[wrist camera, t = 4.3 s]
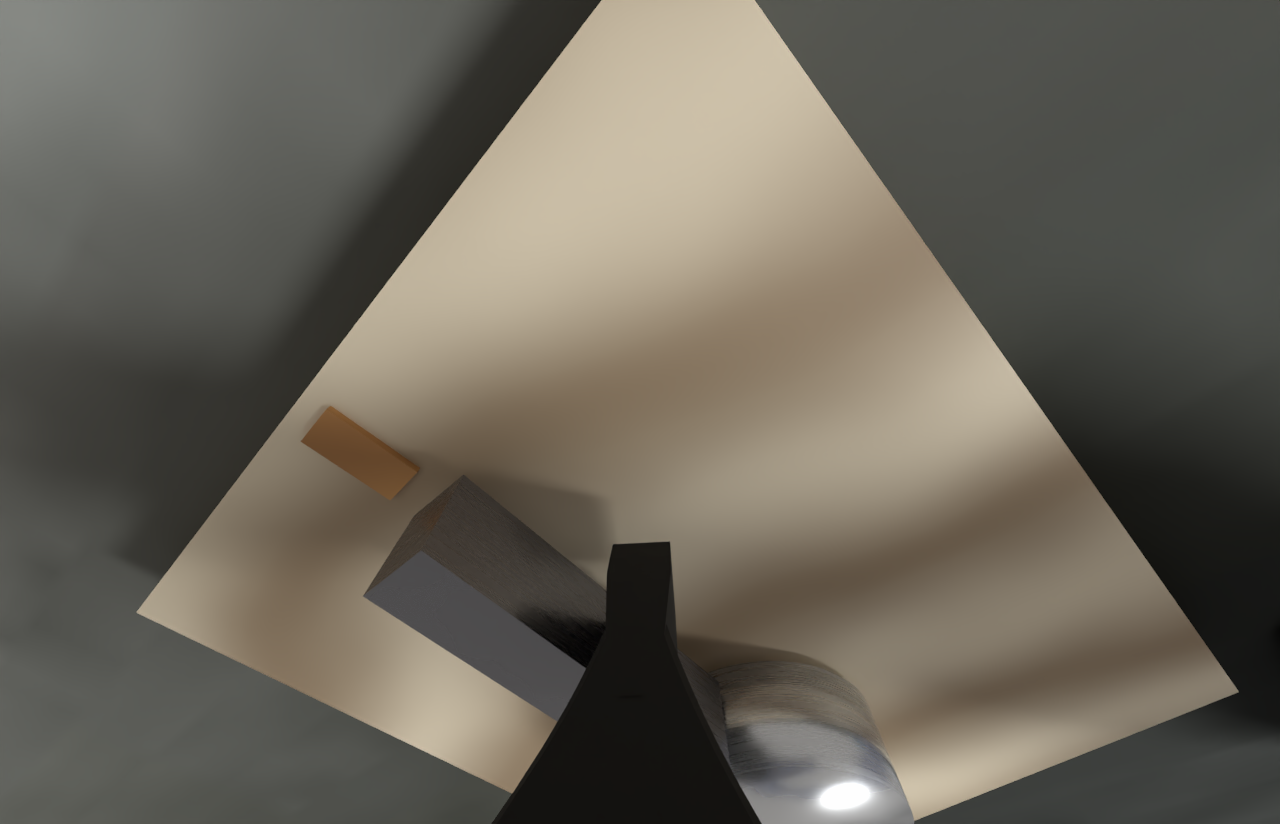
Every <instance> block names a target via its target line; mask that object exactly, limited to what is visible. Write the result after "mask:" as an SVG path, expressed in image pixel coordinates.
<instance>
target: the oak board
mask: <svg viewBox="0 0 1280 824" xmlns="http://www.w3.org/2000/svg"><path fill="white" fill-rule="evenodd" d="M462 475H465V476H466V477H467V478H468V479H470V480H471V481H472V482H473V483H475V484H476V485H477V486H478V487H480V488H481V489H482V490H483V491H484V492H486V493H487V494H488V495H489V496H491V497H492V498H493V499H494V500H496V501H497V502H498V503H499V504H500V505H502V506H503V507H504V508H505V509H507V510H508V511H509V512H510V513H512V514H513V515H514V516H515V517H516V518H518V519H519V520H520V521H521V522H523V523H524V524H525V525H526V526H528V527H529V528H530V529H531V530H532V531H534V532H535V533H536V534H537V535H539V536H540V537H541V538H542V539H544V540H545V541H546V542H547V543H548V544H550V545H551V546H552V547H553V548H555V549H556V550H557V551H558V552H560V553H561V554H562V555H563V556H564V557H566V558H567V559H568V560H569V561H571V562H572V563H573V564H574V565H576V566H577V567H578V568H579V569H580V570H582V571H583V572H584V573H585V574H587V575H588V576H589V577H590V578H591V579H593V580H594V581H595V582H596V583H598V584H599V585H600V586H601V587H603V588H604V589H605V590H606V587H607V570H608V564H609V559H610V555H611V550H612V546H613V544H628V543H648V542H668V541H670V547H671V561H672V574H673V587H674V601H675V614H676V631H677V648H678V649H679V650H680V651H681V652H683V653H684V654H685V655H686V656H687V657H689V658H690V659H691V660H692V661H694V662H695V663H696V664H697V665H699V666H700V667H701V668H702V669H703V670H705V671H706V672H710V671H713V670H716V669H719V668H723V667H727V666H731V665H735V664H741V663H747V662H757V661H787V662H797V663H802V664H808V665H812V666H816V667H819V668H822V669H826V670H828V671H830V672H833V673H835V674H837V675H839V676H841V677H842V678H844V679H846V680H847V681H849V682H850V683H851V684H852V685H854V686H855V687H856V688H857V689H858V690H859V691H860V692H861V694H862V695H863V696H864V698H865V700H866V702H867V703H868V706H869V708H870V711H871V713H872V715H873V718H874V720H875V723H876V725H877V728H878V730H879V732H880V735H881V737H882V740H883V742H884V745H885V747H886V750H887V752H888V754H889V757H890V759H891V762H892V764H893V767H894V769H895V771H896V774H897V776H898V779H899V781H900V784H901V786H902V789H903V791H904V793H905V796H906V798H907V801H908V803H909V806H910V808H911V810H912V814H913V817H914V821H915V820H917V819H920V818H922V817H925V816H927V815H930V814H932V813H935V812H937V811H940V810H943V809H945V808H948V807H950V806H953V805H955V804H958V803H960V802H963V801H965V800H968V799H970V798H973V797H975V796H978V795H980V794H983V793H985V792H988V791H990V790H993V789H996V788H998V787H1001V786H1003V785H1006V784H1008V783H1011V782H1013V781H1016V780H1018V779H1021V778H1023V777H1026V776H1028V775H1031V774H1033V773H1036V772H1038V771H1041V770H1044V769H1046V768H1049V767H1051V766H1054V765H1056V764H1059V763H1061V762H1064V761H1066V760H1069V759H1071V758H1074V757H1076V756H1079V755H1081V754H1084V753H1086V752H1089V751H1091V750H1094V749H1097V748H1099V747H1102V746H1104V745H1107V744H1109V743H1112V742H1114V741H1117V740H1119V739H1122V738H1124V737H1127V736H1129V735H1132V734H1134V733H1137V732H1139V731H1142V730H1144V729H1147V728H1150V727H1152V726H1155V725H1157V724H1160V723H1162V722H1165V721H1167V720H1170V719H1172V718H1175V717H1177V716H1180V715H1182V714H1185V713H1187V712H1190V711H1192V710H1195V709H1197V708H1200V707H1203V706H1205V705H1208V704H1210V703H1213V702H1215V701H1218V700H1220V699H1223V698H1225V697H1228V696H1230V695H1233V694H1235V693H1238V692H1239V691H1238V690H1237V688H1236V687H1235V685H1234V684H1233V683H1232V681H1231V680H1230V678H1229V677H1228V675H1227V674H1226V673H1225V671H1224V670H1223V668H1222V667H1221V665H1220V664H1219V663H1218V661H1217V660H1216V658H1215V657H1214V655H1213V654H1212V653H1211V651H1210V650H1209V648H1208V647H1207V645H1206V644H1205V643H1204V641H1203V640H1202V638H1201V637H1200V635H1199V634H1198V633H1197V631H1196V630H1195V628H1194V627H1193V625H1192V624H1191V623H1190V621H1189V620H1188V618H1187V617H1186V615H1185V614H1184V613H1183V611H1182V610H1181V608H1180V607H1179V605H1178V604H1177V603H1176V601H1175V600H1174V598H1173V597H1172V595H1171V594H1170V593H1169V591H1168V590H1167V588H1166V587H1165V585H1164V584H1163V583H1162V581H1161V580H1160V578H1159V577H1158V575H1157V574H1156V573H1155V571H1154V570H1153V568H1152V567H1151V566H1150V564H1149V563H1148V561H1147V560H1146V558H1145V557H1144V556H1143V554H1142V553H1141V551H1140V550H1139V548H1138V547H1137V546H1136V544H1135V543H1134V541H1133V540H1132V538H1131V537H1130V536H1129V534H1128V533H1127V531H1126V530H1125V528H1124V527H1123V526H1122V524H1121V523H1120V521H1119V520H1118V518H1117V517H1116V516H1115V514H1114V513H1113V511H1112V510H1111V508H1110V507H1109V506H1108V504H1107V503H1106V501H1105V500H1104V498H1103V497H1102V496H1101V494H1100V493H1099V491H1098V490H1097V488H1096V487H1095V486H1094V484H1093V483H1092V481H1091V480H1090V478H1089V477H1088V476H1087V474H1086V473H1085V471H1084V470H1083V468H1082V467H1081V466H1080V464H1079V463H1078V461H1077V460H1076V458H1075V457H1074V456H1073V454H1072V453H1071V451H1070V450H1069V448H1068V447H1067V446H1066V444H1065V443H1064V441H1063V440H1062V438H1061V437H1060V436H1059V434H1058V433H1057V431H1056V430H1055V428H1054V427H1053V426H1052V424H1051V423H1050V421H1049V420H1048V418H1047V417H1046V416H1045V414H1044V413H1043V411H1042V410H1041V408H1040V407H1039V406H1038V404H1037V403H1036V401H1035V400H1034V398H1033V397H1032V396H1031V394H1030V393H1029V391H1028V390H1027V388H1026V387H1025V386H1024V384H1023V383H1022V381H1021V380H1020V378H1019V377H1018V376H1017V374H1016V373H1015V371H1014V370H1013V368H1012V367H1011V366H1010V364H1009V363H1008V361H1007V360H1006V358H1005V357H1004V356H1003V354H1002V353H1001V351H1000V350H999V349H998V347H997V346H996V344H995V343H994V341H993V340H992V339H991V337H990V336H989V334H988V333H987V331H986V330H985V329H984V327H983V326H982V324H981V323H980V321H979V320H978V319H977V317H976V316H975V314H974V313H973V311H972V310H971V309H970V307H969V306H968V304H967V303H966V301H965V300H964V299H963V297H962V296H961V294H960V293H959V291H958V290H957V289H956V287H955V286H954V284H953V283H952V281H951V280H950V279H949V277H948V276H947V274H946V273H945V271H944V270H943V269H942V267H941V266H940V264H939V263H938V261H937V260H936V259H935V257H934V256H933V254H932V253H931V251H930V250H929V249H928V247H927V246H926V244H925V243H924V241H923V240H922V239H921V237H920V236H919V234H918V233H917V231H916V230H915V229H914V227H913V226H912V224H911V223H910V221H909V220H908V219H907V217H906V216H905V214H904V213H903V211H902V210H901V209H900V207H899V206H898V204H897V203H896V201H895V200H894V199H893V197H892V196H891V194H890V193H889V191H888V190H887V189H886V187H885V186H884V184H883V183H882V181H881V180H880V179H879V177H878V176H877V174H876V173H875V171H874V170H873V169H872V167H871V166H870V164H869V163H868V161H867V160H866V159H865V157H864V156H863V154H862V153H861V151H860V150H859V149H858V147H857V146H856V144H855V143H854V141H853V140H852V139H851V137H850V136H849V134H848V133H847V132H846V130H845V129H844V127H843V126H842V124H841V123H840V122H839V120H838V119H837V117H836V116H835V114H834V113H833V112H832V110H831V109H830V107H829V106H828V104H827V103H826V102H825V100H824V99H823V97H822V96H821V94H820V93H819V92H818V90H817V89H816V87H815V86H814V84H813V83H812V82H811V80H810V79H809V77H808V76H807V74H806V73H805V72H804V70H803V69H802V67H801V66H800V64H799V63H798V62H797V60H796V59H795V57H794V56H793V54H792V53H791V52H790V50H789V49H788V47H787V46H786V44H785V43H784V42H783V40H782V39H781V37H780V36H779V34H778V33H777V32H776V30H775V29H774V27H773V26H772V24H771V23H770V22H769V20H768V19H767V17H766V16H765V14H764V13H763V12H762V10H761V9H760V7H759V6H758V4H757V3H756V2H755V0H601V2H600V3H599V4H598V6H597V7H596V8H595V10H594V11H593V12H592V13H591V15H590V16H589V17H588V19H587V20H586V21H585V23H584V24H583V25H582V27H581V28H580V29H579V31H578V32H577V33H576V35H575V36H574V37H573V38H572V40H571V41H570V42H569V44H568V45H567V46H566V48H565V49H564V50H563V52H562V53H561V54H560V56H559V57H558V58H557V60H556V61H555V62H554V63H553V65H552V66H551V67H550V69H549V70H548V71H547V73H546V74H545V75H544V77H543V78H542V79H541V81H540V82H539V83H538V85H537V86H536V87H535V88H534V90H533V91H532V92H531V94H530V95H529V96H528V98H527V99H526V100H525V102H524V103H523V104H522V106H521V107H520V108H519V110H518V111H517V112H516V113H515V115H514V116H513V117H512V119H511V120H510V121H509V123H508V124H507V125H506V127H505V128H504V129H503V131H502V132H501V133H500V135H499V136H498V137H497V138H496V140H495V141H494V142H493V144H492V145H491V146H490V148H489V149H488V150H487V152H486V153H485V154H484V156H483V157H482V158H481V159H480V161H479V162H478V163H477V165H476V166H475V167H474V169H473V170H472V171H471V173H470V174H469V175H468V177H467V178H466V179H465V181H464V182H463V183H462V184H461V186H460V187H459V188H458V190H457V191H456V192H455V194H454V195H453V196H452V198H451V199H450V200H449V202H448V203H447V204H446V206H445V207H444V208H443V209H442V211H441V212H440V213H439V215H438V216H437V217H436V219H435V220H434V221H433V223H432V224H431V225H430V227H429V228H428V229H427V231H426V232H425V233H424V234H423V236H422V237H421V238H420V240H419V241H418V242H417V244H416V245H415V246H414V248H413V249H412V250H411V252H410V253H409V254H408V256H407V257H406V258H405V259H404V261H403V262H402V263H401V265H400V266H399V267H398V269H397V270H396V271H395V273H394V274H393V275H392V277H391V278H390V279H389V281H388V282H387V283H386V284H385V286H384V287H383V288H382V290H381V291H380V292H379V294H378V295H377V296H376V298H375V299H374V300H373V302H372V303H371V304H370V306H369V307H368V308H367V309H366V311H365V312H364V313H363V315H362V316H361V317H360V319H359V320H358V321H357V323H356V324H355V325H354V327H353V328H352V329H351V331H350V332H349V333H348V334H347V336H346V337H345V338H344V340H343V341H342V342H341V344H340V345H339V346H338V348H337V349H336V350H335V352H334V353H333V354H332V356H331V357H330V358H329V359H328V361H327V362H326V363H325V365H324V366H323V367H322V369H321V370H320V371H319V373H318V374H317V375H316V377H315V378H314V379H313V381H312V382H311V383H310V384H309V386H308V387H307V388H306V390H305V391H304V392H303V394H302V395H301V396H300V398H299V399H298V400H297V402H296V403H295V404H294V406H293V407H292V408H291V409H290V411H289V412H288V413H287V415H286V416H285V417H284V419H283V420H282V421H281V423H280V424H279V425H278V427H277V428H276V429H275V431H274V432H273V433H272V434H271V436H270V437H269V438H268V440H267V441H266V442H265V444H264V445H263V446H262V448H261V449H260V450H259V452H258V453H257V454H256V456H255V457H254V458H253V459H252V461H251V462H250V463H249V465H248V466H247V467H246V469H245V470H244V471H243V473H242V474H241V475H240V477H239V478H238V479H237V481H236V482H235V483H234V484H233V486H232V487H231V488H230V490H229V491H228V492H227V494H226V495H225V496H224V498H223V499H222V500H221V502H220V503H219V504H218V506H217V507H216V508H215V509H214V511H213V512H212V513H211V515H210V516H209V517H208V519H207V520H206V521H205V523H204V524H203V525H202V527H201V528H200V529H199V531H198V532H197V533H196V534H195V536H194V537H193V538H192V540H191V541H190V542H189V544H188V545H187V546H186V548H185V549H184V550H183V552H182V553H181V554H180V556H179V557H178V558H177V559H176V561H175V562H174V563H173V565H172V566H171V567H170V569H169V570H168V571H167V573H166V574H165V575H164V577H163V578H162V579H161V581H160V582H159V583H158V584H157V586H156V587H155V588H154V590H153V591H152V592H151V594H150V595H149V596H148V598H147V599H146V600H145V602H144V603H143V604H142V606H141V607H140V608H139V609H138V611H137V612H136V613H138V614H140V615H142V616H145V617H147V618H149V619H151V620H153V621H155V622H157V623H159V624H161V625H163V626H165V627H167V628H169V629H172V630H174V631H176V632H178V633H180V634H182V635H184V636H186V637H188V638H190V639H192V640H194V641H196V642H199V643H201V644H203V645H205V646H207V647H209V648H211V649H213V650H215V651H217V652H219V653H221V654H223V655H226V656H228V657H230V658H232V659H234V660H236V661H238V662H240V663H242V664H244V665H246V666H248V667H250V668H253V669H255V670H257V671H259V672H261V673H263V674H265V675H267V676H269V677H271V678H273V679H275V680H277V681H280V682H282V683H284V684H286V685H288V686H290V687H292V688H294V689H296V690H298V691H300V692H302V693H304V694H307V695H309V696H311V697H313V698H315V699H317V700H319V701H321V702H323V703H325V704H327V705H329V706H331V707H334V708H336V709H338V710H340V711H342V712H344V713H346V714H348V715H350V716H352V717H354V718H356V719H358V720H361V721H363V722H365V723H367V724H369V725H371V726H373V727H375V728H377V729H379V730H381V731H383V732H385V733H388V734H390V735H392V736H394V737H396V738H398V739H400V740H402V741H404V742H406V743H408V744H410V745H412V746H415V747H417V748H419V749H421V750H423V751H425V752H427V753H429V754H431V755H433V756H435V757H437V758H439V759H442V760H444V761H446V762H448V763H450V764H452V765H454V766H456V767H458V768H460V769H462V770H464V771H466V772H469V773H471V774H473V775H475V776H477V777H479V778H481V779H483V780H485V781H487V782H489V783H491V784H494V785H496V786H498V787H500V788H502V789H504V790H506V791H508V792H510V793H513V792H514V790H515V789H516V787H517V786H518V784H519V782H520V781H521V779H522V778H523V776H524V775H525V773H526V772H527V770H528V768H529V767H530V765H531V764H532V762H533V761H534V759H535V758H536V756H537V755H538V753H539V751H540V750H541V748H542V747H543V745H544V743H545V742H546V740H547V738H548V737H549V735H550V733H551V732H552V730H553V728H554V727H555V725H556V723H557V721H556V720H554V719H553V718H551V717H549V716H548V715H546V714H545V713H543V712H542V711H540V710H539V709H537V708H535V707H534V706H532V705H531V704H529V703H528V702H526V701H525V700H523V699H521V698H520V697H518V696H517V695H515V694H514V693H512V692H511V691H509V690H507V689H506V688H504V687H503V686H501V685H500V684H498V683H497V682H495V681H493V680H492V679H490V678H489V677H487V676H486V675H484V674H483V673H481V672H479V671H478V670H476V669H475V668H473V667H472V666H470V665H469V664H467V663H465V662H464V661H462V660H461V659H459V658H458V657H456V656H455V655H453V654H451V653H450V652H448V651H447V650H445V649H444V648H442V647H441V646H439V645H438V644H436V643H434V642H433V641H431V640H430V639H428V638H427V637H425V636H424V635H422V634H420V633H419V632H417V631H416V630H414V629H413V628H411V627H410V626H408V625H406V624H405V623H403V622H402V621H400V620H399V619H397V618H396V617H394V616H392V615H391V614H389V613H388V612H386V611H385V610H383V609H382V608H380V607H378V606H377V605H375V604H374V603H372V602H371V601H369V600H368V599H366V598H364V597H363V595H364V594H365V592H366V590H367V589H368V587H369V586H370V584H371V583H372V581H373V579H374V578H375V576H376V575H377V573H378V572H379V570H380V568H381V567H382V565H383V564H384V562H385V561H386V559H387V557H388V556H389V554H390V553H391V551H392V549H393V548H394V546H395V545H396V543H397V542H398V540H399V538H400V537H401V535H402V534H403V532H404V531H405V529H406V527H407V526H408V524H409V523H410V521H411V520H412V518H413V516H414V515H415V514H417V513H418V512H419V511H420V510H421V509H423V508H424V507H425V506H426V505H427V504H429V503H430V502H431V501H432V500H433V499H435V498H436V497H437V496H438V495H440V494H441V493H442V492H443V491H444V490H446V489H447V488H448V487H449V486H450V485H452V484H453V483H454V482H455V481H456V480H458V479H459V478H460V477H461V476H462Z"/></svg>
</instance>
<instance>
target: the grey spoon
mask: <svg viewBox="0 0 1280 824" xmlns="http://www.w3.org/2000/svg"><path fill="white" fill-rule="evenodd" d="M363 597H364V598H366V599H368V600H369V601H371V602H372V603H374V604H375V605H377V606H378V607H380V608H382V609H383V610H385V611H386V612H388V613H389V614H391V615H392V616H394V617H396V618H397V619H399V620H400V621H402V622H403V623H405V624H406V625H408V626H410V627H411V628H413V629H414V630H416V631H417V632H419V633H420V634H422V635H424V636H425V637H427V638H428V639H430V640H431V641H433V642H434V643H436V644H438V645H439V646H441V647H442V648H444V649H445V650H447V651H448V652H450V653H451V654H453V655H455V656H456V657H458V658H459V659H461V660H462V661H464V662H465V663H467V664H469V665H470V666H472V667H473V668H475V669H476V670H478V671H479V672H481V673H483V674H484V675H486V676H487V677H489V678H490V679H492V680H493V681H495V682H497V683H498V684H500V685H501V686H503V687H504V688H506V689H507V690H509V691H511V692H512V693H514V694H515V695H517V696H518V697H520V698H521V699H523V700H525V701H526V702H528V703H529V704H531V705H532V706H534V707H535V708H537V709H539V710H540V711H542V712H543V713H545V714H546V715H548V716H549V717H551V718H553V719H554V720H556V721H557V722H558V720H559V718H560V716H561V715H562V713H563V711H564V709H565V708H566V706H567V704H568V702H569V700H570V699H571V697H572V695H573V693H574V691H575V689H576V688H577V686H578V684H579V682H580V680H581V678H582V676H583V674H584V672H585V670H586V668H587V666H588V664H589V662H590V660H591V658H592V656H593V654H594V652H595V650H596V648H597V646H598V644H599V642H600V639H601V637H602V635H603V633H604V630H605V628H606V590H605V589H604V588H603V587H601V586H600V585H599V584H598V583H596V582H595V581H594V580H593V579H591V578H590V577H589V576H588V575H587V574H585V573H584V572H583V571H582V570H580V569H579V568H578V567H577V566H576V565H574V564H573V563H572V562H571V561H569V560H568V559H567V558H566V557H564V556H563V555H562V554H561V553H560V552H558V551H557V550H556V549H555V548H553V547H552V546H551V545H550V544H548V543H547V542H546V541H545V540H544V539H542V538H541V537H540V536H539V535H537V534H536V533H535V532H534V531H532V530H531V529H530V528H529V527H528V526H526V525H525V524H524V523H523V522H521V521H520V520H519V519H518V518H516V517H515V516H514V515H513V514H512V513H510V512H509V511H508V510H507V509H505V508H504V507H503V506H502V505H500V504H499V503H498V502H497V501H496V500H494V499H493V498H492V497H491V496H489V495H488V494H487V493H486V492H484V491H483V490H482V489H481V488H480V487H478V486H477V485H476V484H475V483H473V482H472V481H471V480H470V479H468V478H467V477H466V476H465V475H462V476H461V477H460V478H459V479H458V480H456V481H455V482H454V483H453V484H452V485H450V486H449V487H448V488H447V489H446V490H444V491H443V492H442V493H441V494H440V495H438V496H437V497H436V498H435V499H433V500H432V501H431V502H430V503H429V504H427V505H426V506H425V507H424V508H423V509H421V510H420V511H419V512H418V513H417V514H415V515H414V516H413V518H412V520H411V521H410V523H409V524H408V526H407V527H406V529H405V531H404V532H403V534H402V535H401V537H400V538H399V540H398V542H397V543H396V545H395V546H394V548H393V549H392V551H391V553H390V554H389V556H388V557H387V559H386V561H385V562H384V564H383V565H382V567H381V568H380V570H379V572H378V573H377V575H376V576H375V578H374V579H373V581H372V583H371V584H370V586H369V587H368V589H367V590H366V592H365V594H364V595H363ZM677 650H678V657H679V659H680V662H681V664H682V666H683V669H684V671H685V673H686V676H687V678H688V681H689V683H690V685H691V688H692V690H693V692H694V694H695V697H696V699H697V701H698V703H699V705H700V708H701V710H702V712H703V714H704V716H705V718H706V720H707V722H708V724H709V726H710V728H711V730H712V733H713V735H714V737H715V739H716V741H717V743H718V745H719V747H720V749H721V750H722V752H723V754H724V756H725V758H726V760H727V762H728V764H729V766H730V768H731V770H732V772H733V773H734V775H735V777H736V779H737V781H738V783H739V785H740V787H741V788H742V790H743V792H744V794H745V795H746V797H747V799H748V801H749V802H750V804H751V806H752V808H753V809H754V811H755V813H756V815H757V816H758V818H759V820H760V822H761V823H762V824H914V817H913V814H912V810H911V808H910V806H909V803H908V801H907V798H906V796H905V793H904V791H903V789H902V786H901V784H900V781H899V779H898V776H897V774H896V771H895V769H894V767H893V764H892V762H891V759H890V757H889V754H888V752H887V750H886V747H885V745H884V742H883V740H882V737H881V735H880V732H879V730H878V728H877V725H876V723H875V720H874V718H873V715H872V713H871V711H870V708H869V706H868V703H867V702H866V700H865V698H864V696H863V695H862V694H861V692H860V691H859V690H858V689H857V688H856V687H855V686H854V685H852V684H851V683H850V682H849V681H847V680H846V679H844V678H842V677H841V676H839V675H837V674H835V673H833V672H830V671H828V670H826V669H822V668H819V667H816V666H812V665H808V664H802V663H797V662H787V661H757V662H747V663H741V664H735V665H731V666H727V667H723V668H719V669H716V670H713V671H710V672H706V671H705V670H703V669H702V668H701V667H700V666H699V665H697V664H696V663H695V662H694V661H692V660H691V659H690V658H689V657H687V656H686V655H685V654H684V653H683V652H681V651H680V650H679V649H678V648H677Z"/></svg>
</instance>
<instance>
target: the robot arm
mask: <svg viewBox="0 0 1280 824" xmlns="http://www.w3.org/2000/svg"><path fill="white" fill-rule="evenodd" d="M492 824H762V823H761V822H760V820H759V818H758V816H757V815H756V813H755V811H754V809H753V808H752V806H751V804H750V802H749V801H748V799H747V797H746V795H745V794H744V792H743V790H742V788H741V787H740V785H739V783H738V781H737V779H736V777H735V775H734V773H733V772H732V770H731V768H730V766H729V764H728V762H727V760H726V758H725V756H724V754H723V752H722V750H721V749H720V747H719V745H718V743H717V741H716V739H715V737H714V735H713V733H712V730H711V728H710V726H709V724H708V722H707V720H706V718H705V716H704V714H703V712H702V710H701V708H700V705H699V703H698V701H697V699H696V697H695V694H694V692H693V690H692V688H691V685H690V683H689V681H688V678H687V676H686V673H685V671H684V669H683V666H682V664H681V662H680V659H679V657H678V650H677V631H676V614H675V601H674V587H673V574H672V561H671V547H670V541H668V542H648V543H628V544H613V546H612V550H611V555H610V559H609V564H608V570H607V587H606V628H605V630H604V633H603V635H602V637H601V639H600V642H599V644H598V646H597V648H596V650H595V652H594V654H593V656H592V658H591V660H590V662H589V664H588V666H587V668H586V670H585V672H584V674H583V676H582V678H581V680H580V682H579V684H578V686H577V688H576V689H575V691H574V693H573V695H572V697H571V699H570V700H569V702H568V704H567V706H566V708H565V709H564V711H563V713H562V715H561V716H560V718H559V720H558V722H557V723H556V725H555V727H554V728H553V730H552V732H551V733H550V735H549V737H548V738H547V740H546V742H545V743H544V745H543V747H542V748H541V750H540V751H539V753H538V755H537V756H536V758H535V759H534V761H533V762H532V764H531V765H530V767H529V768H528V770H527V772H526V773H525V775H524V776H523V778H522V779H521V781H520V782H519V784H518V786H517V787H516V789H515V790H514V792H513V793H512V795H511V796H510V798H509V799H508V801H507V802H506V804H505V805H504V806H503V808H502V809H501V811H500V812H499V814H498V815H497V817H496V818H495V820H494V821H493V822H492Z"/></svg>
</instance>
